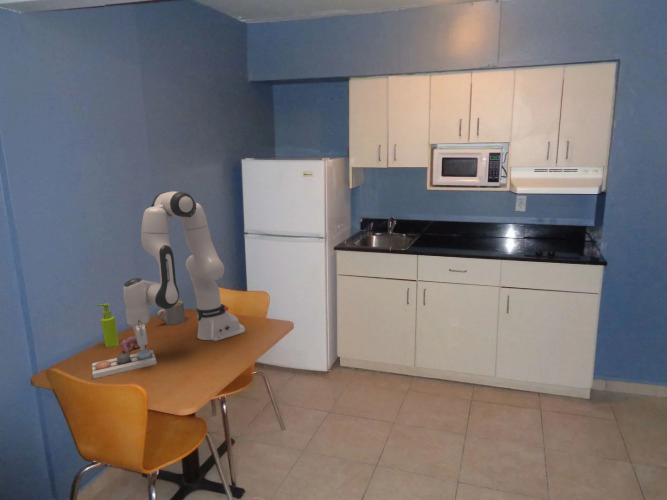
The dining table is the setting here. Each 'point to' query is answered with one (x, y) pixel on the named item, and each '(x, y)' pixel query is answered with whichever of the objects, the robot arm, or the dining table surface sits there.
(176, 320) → the coffee mug
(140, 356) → the pale blue button
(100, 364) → the terracotta button
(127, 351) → the video game controller
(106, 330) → the soap dispenser
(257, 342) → the dining table surface
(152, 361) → the button board
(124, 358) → the charcoal button
